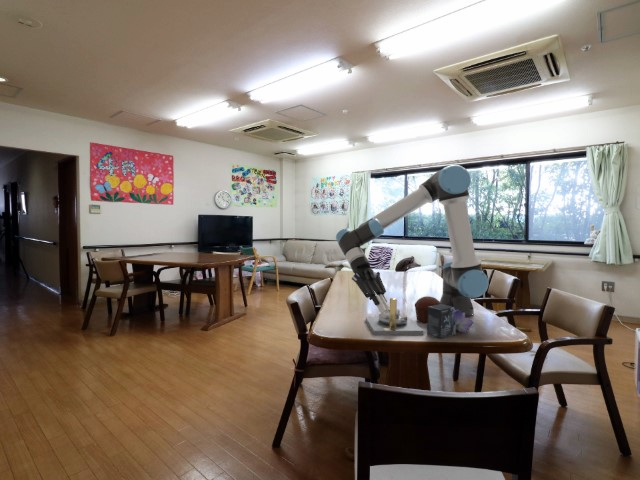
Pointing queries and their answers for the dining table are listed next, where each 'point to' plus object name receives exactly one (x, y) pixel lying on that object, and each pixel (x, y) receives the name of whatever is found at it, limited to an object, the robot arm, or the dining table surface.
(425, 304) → the muffin
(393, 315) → the crank handle
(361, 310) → the dining table surface
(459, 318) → the flower
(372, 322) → the stand
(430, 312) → the box
